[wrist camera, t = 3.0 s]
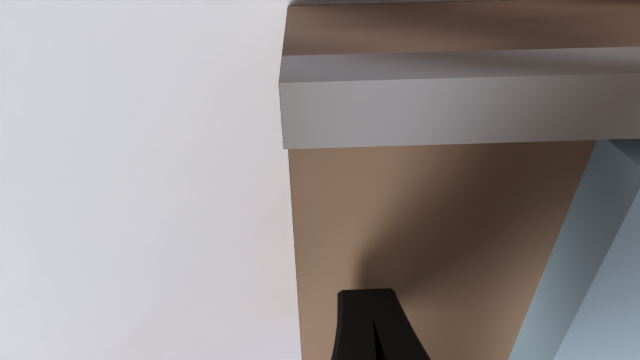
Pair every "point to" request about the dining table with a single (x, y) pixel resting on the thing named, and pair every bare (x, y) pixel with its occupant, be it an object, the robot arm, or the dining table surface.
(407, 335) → the robot arm
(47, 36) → the dining table surface
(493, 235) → the slide box
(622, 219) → the lid plate
